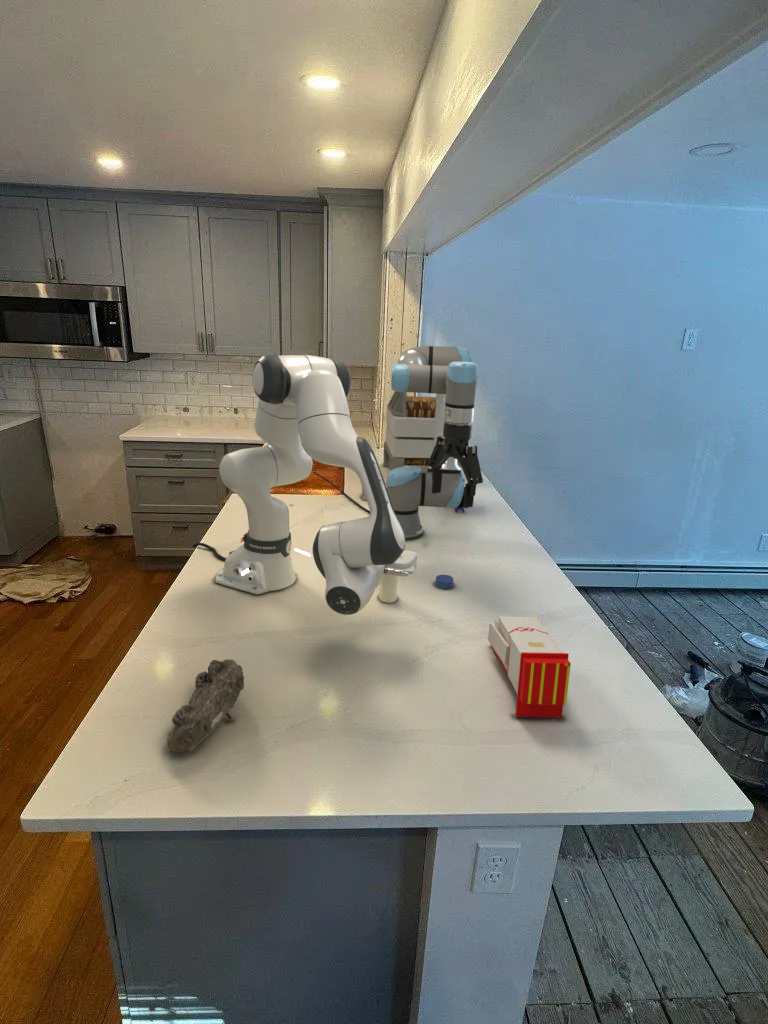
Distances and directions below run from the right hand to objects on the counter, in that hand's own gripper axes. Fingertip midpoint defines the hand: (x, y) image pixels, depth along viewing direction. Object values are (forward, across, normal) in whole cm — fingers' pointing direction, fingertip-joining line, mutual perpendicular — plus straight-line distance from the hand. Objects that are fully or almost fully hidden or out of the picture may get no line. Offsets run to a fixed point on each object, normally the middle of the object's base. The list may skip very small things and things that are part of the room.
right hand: (451, 499), depth 156 cm
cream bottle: (+26, -1, -19) cm, 32 cm away
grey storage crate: (+26, -98, +64) cm, 120 cm away
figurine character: (+26, -50, +48) cm, 74 cm away
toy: (+26, +43, -13) cm, 52 cm away
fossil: (+26, +22, -75) cm, 82 cm away
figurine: (+26, -77, +23) cm, 84 cm away
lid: (+24, 0, 0) cm, 24 cm away
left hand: (+5, +7, -28) cm, 29 cm away
